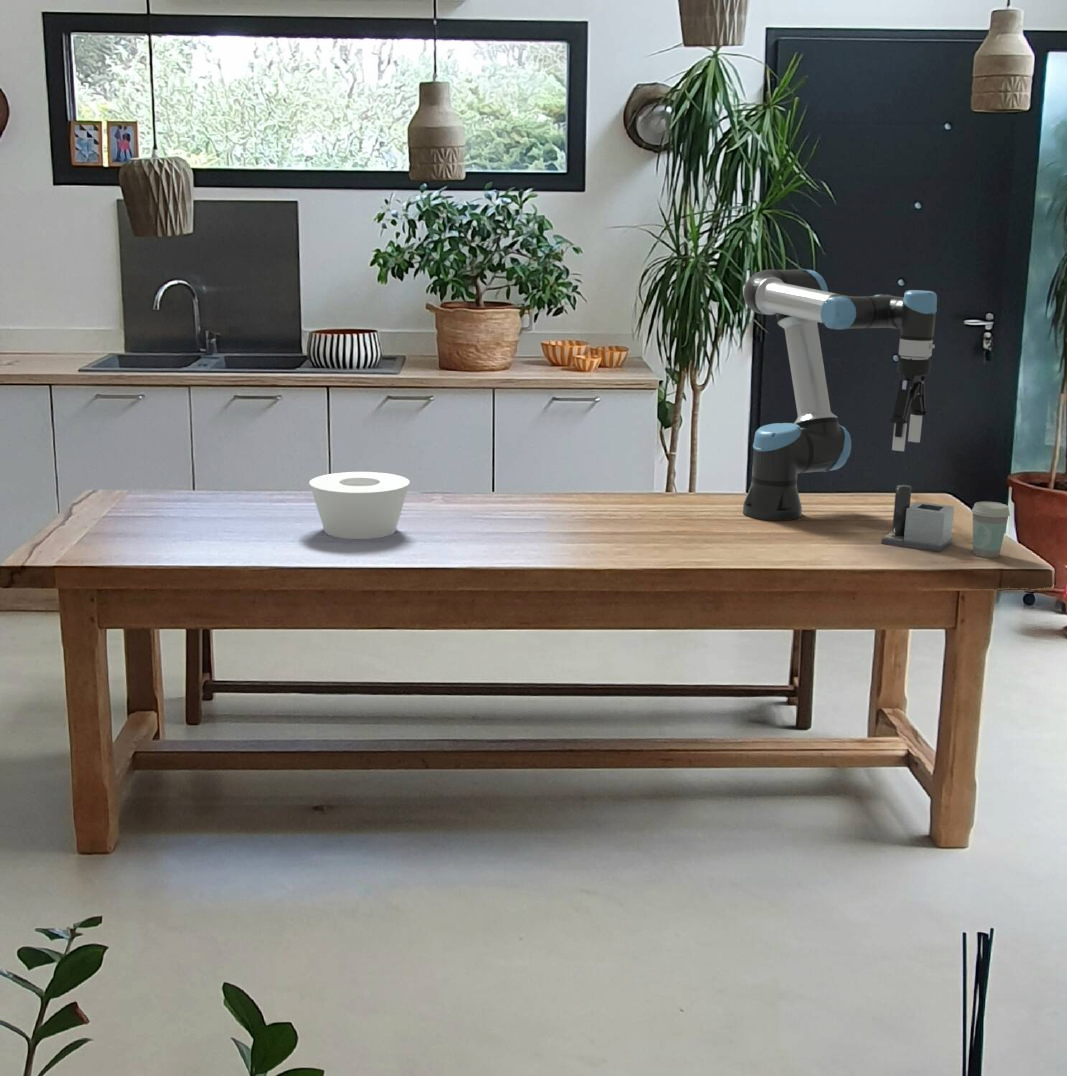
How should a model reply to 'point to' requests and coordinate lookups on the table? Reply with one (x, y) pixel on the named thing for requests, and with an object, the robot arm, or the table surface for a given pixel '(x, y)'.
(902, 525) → the black tapered cylinder
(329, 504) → the white tapered cylinder
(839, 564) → the table surface
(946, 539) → the square frame housing
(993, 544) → the coffee cup
